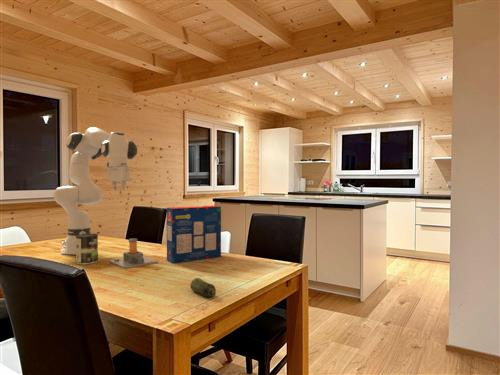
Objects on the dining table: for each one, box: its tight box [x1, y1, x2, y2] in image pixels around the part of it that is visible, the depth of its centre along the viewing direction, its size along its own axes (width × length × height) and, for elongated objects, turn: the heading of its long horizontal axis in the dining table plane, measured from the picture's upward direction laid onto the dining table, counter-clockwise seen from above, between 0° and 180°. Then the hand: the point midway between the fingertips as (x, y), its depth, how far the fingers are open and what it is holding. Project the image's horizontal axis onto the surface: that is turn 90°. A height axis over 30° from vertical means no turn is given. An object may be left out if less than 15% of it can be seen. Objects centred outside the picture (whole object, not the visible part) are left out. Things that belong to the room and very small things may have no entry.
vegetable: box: [189, 277, 217, 299], centre depth 128 cm, size 14×5×5 cm, turn 37°
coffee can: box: [75, 233, 99, 265], centre depth 178 cm, size 10×10×14 cm
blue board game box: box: [166, 205, 222, 264], centre depth 186 cm, size 28×8×28 cm, turn 124°
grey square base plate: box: [108, 250, 159, 270], centre depth 177 cm, size 18×18×5 cm
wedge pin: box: [128, 238, 138, 254], centre depth 177 cm, size 4×4×11 cm
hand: (118, 190), depth 180 cm, fingers open, 8 cm apart
